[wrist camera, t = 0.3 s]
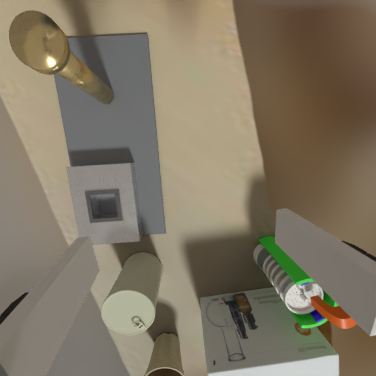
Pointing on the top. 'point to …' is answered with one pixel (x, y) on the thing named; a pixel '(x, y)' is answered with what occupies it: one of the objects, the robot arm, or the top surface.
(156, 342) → the flower pot
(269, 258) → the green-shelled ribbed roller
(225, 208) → the top surface
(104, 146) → the mat
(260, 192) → the top surface
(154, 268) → the can
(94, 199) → the grey flat rectangular block
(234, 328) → the skincare box
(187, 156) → the top surface
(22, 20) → the pin
